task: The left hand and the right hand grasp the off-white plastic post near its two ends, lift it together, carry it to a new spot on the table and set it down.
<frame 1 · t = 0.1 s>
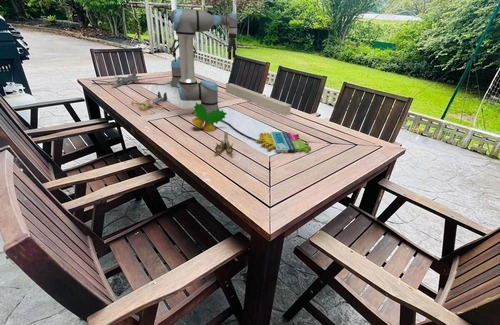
left hand: (231, 58, 244), 28 cm above the table, tool pointing down, fingers open, 13 cm apart
right hand: (184, 61, 211), 28 cm above the table, tool pointing down, fingers open, 13 cm apart
post: (254, 101, 223), on the table
toy: (153, 105, 198), on the table
jawbone: (224, 151, 138), on the table
airplane: (127, 83, 250), on the table
sign: (281, 143, 152), on the table
ornament: (209, 128, 165), on the table
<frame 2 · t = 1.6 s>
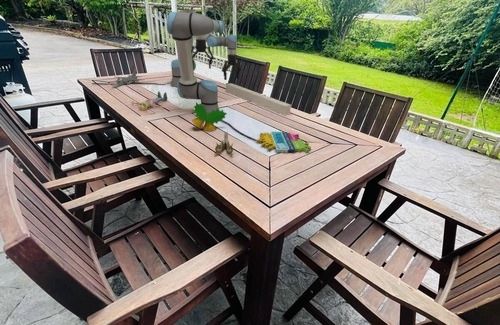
left hand: (231, 79, 240), 12 cm above the table, tool pointing down, fingers open, 13 cm apart
right hand: (201, 68, 208), 25 cm above the table, tool pointing down, fingers open, 13 cm apart
nothing on the table moved.
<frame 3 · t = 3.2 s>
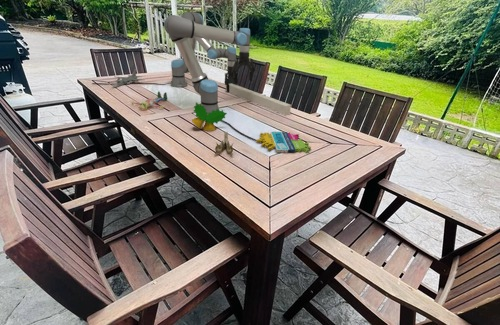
left hand: (230, 91, 246), 0 cm above the table, tool pointing down, fingers closed on post, 6 cm apart
right hand: (243, 81, 201), 19 cm above the table, tool pointing down, fingers open, 13 cm apart
post: (254, 101, 223), on the table, touching left hand
everything else where it was.
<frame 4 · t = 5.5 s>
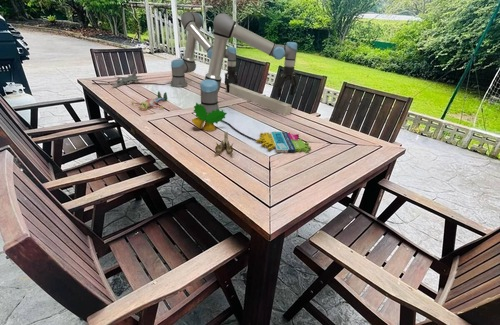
left hand: (230, 91, 246), 0 cm above the table, tool pointing down, fingers closed on post, 6 cm apart
right hand: (285, 96, 194), 13 cm above the table, tool pointing down, fingers open, 13 cm apart
post: (254, 101, 223), on the table, touching left hand
everything else where it was.
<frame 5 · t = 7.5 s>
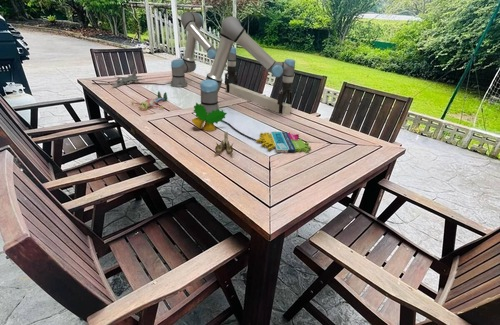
left hand: (230, 91, 246), 0 cm above the table, tool pointing down, fingers closed on post, 6 cm apart
right hand: (283, 112, 201), 0 cm above the table, tool pointing down, fingers closed on post, 6 cm apart
post: (254, 101, 223), on the table, touching right hand, left hand
everything else where it was.
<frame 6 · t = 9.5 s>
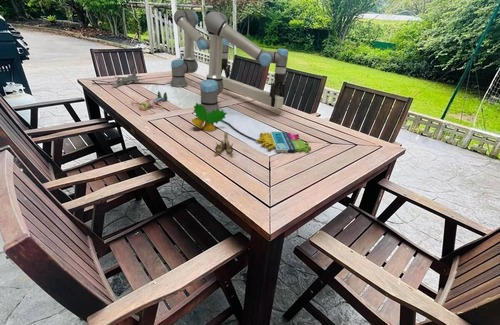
left hand: (222, 85, 237), 8 cm above the table, tool pointing down, fingers closed on post, 6 cm apart
right hand: (275, 105, 192), 7 cm above the table, tool pointing down, fingers closed on post, 6 cm apart
post: (246, 95, 214), point 7 cm above the table, touching right hand, left hand
everything else where it was.
when the left hand's fingers open (1 cm above the table, at t = 11.9 s): post stays where it is, on the table.
when the right hand's fingers open (1 cm above the table, at t = 11.9 s): post stays where it is, on the table.
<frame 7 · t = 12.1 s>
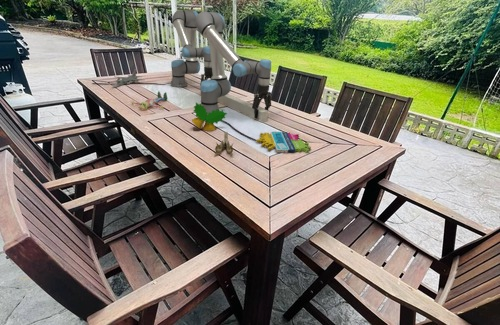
left hand: (208, 93, 229), 2 cm above the table, tool pointing down, fingers open, 8 cm apart
right hand: (260, 117, 184), 2 cm above the table, tool pointing down, fingers open, 8 cm apart
post: (231, 106, 207), on the table
everything else where it was.
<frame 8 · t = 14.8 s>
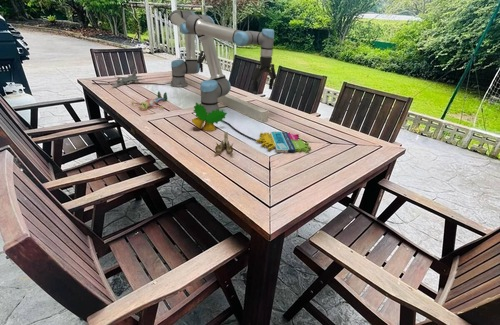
left hand: (208, 71, 220), 21 cm above the table, tool pointing down, fingers open, 13 cm apart
right hand: (263, 90, 175), 21 cm above the table, tool pointing down, fingers open, 13 cm apart
nothing on the table moved.
at the end: post inside the target area (0.1 cm from its centre), on the table; post tilted 0°; post never tilted more than 1° during the clip; both hands held the post at the same time; the left hand is holding nothing; the right hand is holding nothing; post at rest at the end (0.0 cm/s) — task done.
